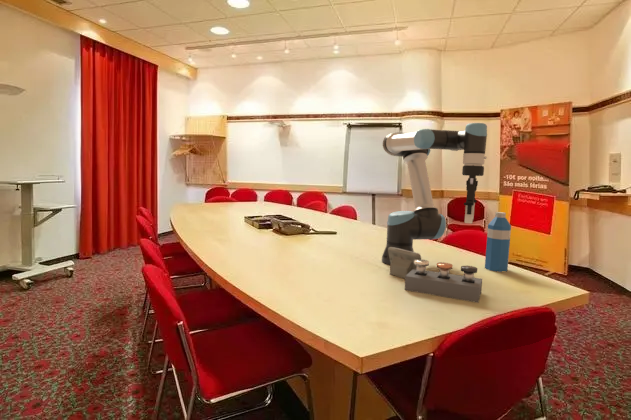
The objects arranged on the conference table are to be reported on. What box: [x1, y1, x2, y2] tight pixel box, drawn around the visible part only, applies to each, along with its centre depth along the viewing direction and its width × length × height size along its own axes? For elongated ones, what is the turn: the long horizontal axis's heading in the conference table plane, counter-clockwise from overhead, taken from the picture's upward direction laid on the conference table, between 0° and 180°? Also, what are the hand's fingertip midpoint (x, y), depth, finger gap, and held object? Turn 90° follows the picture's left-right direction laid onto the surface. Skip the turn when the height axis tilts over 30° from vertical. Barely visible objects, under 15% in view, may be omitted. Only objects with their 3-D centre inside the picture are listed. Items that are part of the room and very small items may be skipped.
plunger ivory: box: [414, 258, 430, 276], centre depth 137 cm, size 5×5×5 cm
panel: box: [404, 269, 483, 303], centre depth 134 cm, size 24×12×5 cm, turn 62°
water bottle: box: [484, 211, 512, 273], centre depth 167 cm, size 9×9×25 cm
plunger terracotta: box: [436, 261, 454, 279], centre depth 134 cm, size 5×5×5 cm
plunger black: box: [460, 265, 479, 283], centre depth 130 cm, size 5×5×5 cm
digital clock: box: [388, 247, 422, 280], centre depth 153 cm, size 16×9×11 cm, turn 25°
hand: (469, 221), depth 146 cm, fingers open, 13 cm apart
